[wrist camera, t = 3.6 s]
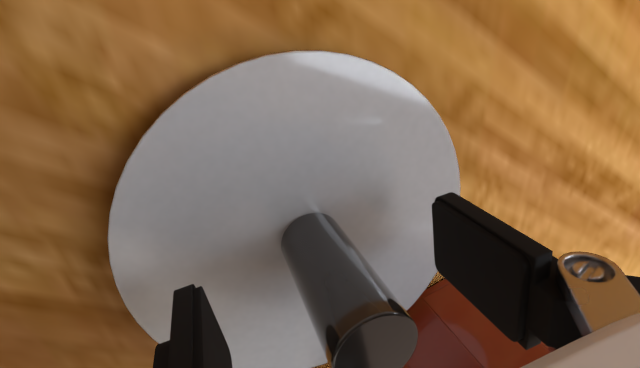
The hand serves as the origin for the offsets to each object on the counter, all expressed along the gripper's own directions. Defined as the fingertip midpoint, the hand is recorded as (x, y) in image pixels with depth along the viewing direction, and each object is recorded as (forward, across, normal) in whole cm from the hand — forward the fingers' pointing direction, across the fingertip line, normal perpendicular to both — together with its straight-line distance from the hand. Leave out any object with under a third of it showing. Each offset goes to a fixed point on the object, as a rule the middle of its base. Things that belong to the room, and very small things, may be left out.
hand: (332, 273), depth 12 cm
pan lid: (+3, 0, 0) cm, 3 cm away
